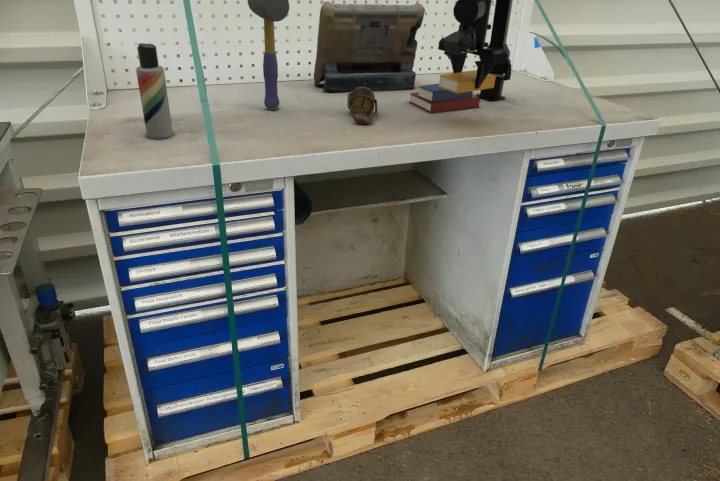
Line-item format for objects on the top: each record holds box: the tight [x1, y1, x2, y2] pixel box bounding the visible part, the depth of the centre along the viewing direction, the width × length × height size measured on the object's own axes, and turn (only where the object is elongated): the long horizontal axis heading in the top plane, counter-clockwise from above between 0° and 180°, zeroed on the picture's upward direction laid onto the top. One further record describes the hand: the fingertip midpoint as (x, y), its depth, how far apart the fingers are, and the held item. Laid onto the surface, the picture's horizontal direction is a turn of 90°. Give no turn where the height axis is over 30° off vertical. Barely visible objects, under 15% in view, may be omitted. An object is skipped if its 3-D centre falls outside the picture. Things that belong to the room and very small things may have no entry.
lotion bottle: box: [135, 42, 174, 140], centre depth 116 cm, size 6×6×20 cm
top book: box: [438, 69, 496, 94], centre depth 134 cm, size 13×7×3 cm, turn 125°
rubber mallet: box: [247, 0, 290, 111], centre depth 134 cm, size 12×8×30 cm, turn 28°
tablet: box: [313, 1, 426, 93], centre depth 160 cm, size 33×14×25 cm, turn 114°
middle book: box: [418, 83, 474, 103], centre depth 150 cm, size 15×6×3 cm, turn 123°
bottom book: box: [409, 91, 481, 114], centre depth 152 cm, size 17×11×3 cm, turn 118°
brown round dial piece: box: [346, 87, 378, 125], centre depth 137 cm, size 7×13×10 cm
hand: (466, 84), depth 134 cm, fingers closed on top book, 7 cm apart
